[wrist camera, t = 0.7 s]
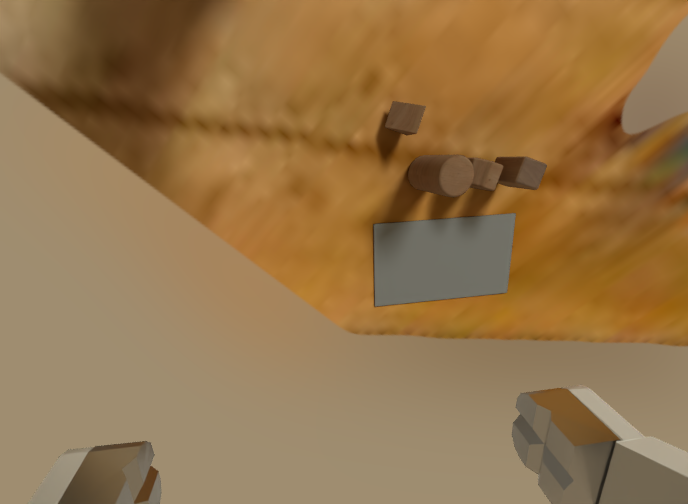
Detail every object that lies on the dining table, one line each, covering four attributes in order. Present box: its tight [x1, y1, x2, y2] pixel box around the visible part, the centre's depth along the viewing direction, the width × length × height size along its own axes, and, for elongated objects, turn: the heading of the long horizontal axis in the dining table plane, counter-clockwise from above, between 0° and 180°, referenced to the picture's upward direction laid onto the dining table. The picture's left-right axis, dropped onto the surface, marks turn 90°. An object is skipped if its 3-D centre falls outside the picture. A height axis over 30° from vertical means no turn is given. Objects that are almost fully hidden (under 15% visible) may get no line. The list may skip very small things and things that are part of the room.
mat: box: [374, 213, 516, 306], centre depth 53 cm, size 12×20×1 cm, turn 92°
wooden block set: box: [385, 101, 547, 197], centre depth 44 cm, size 18×9×10 cm, turn 72°
